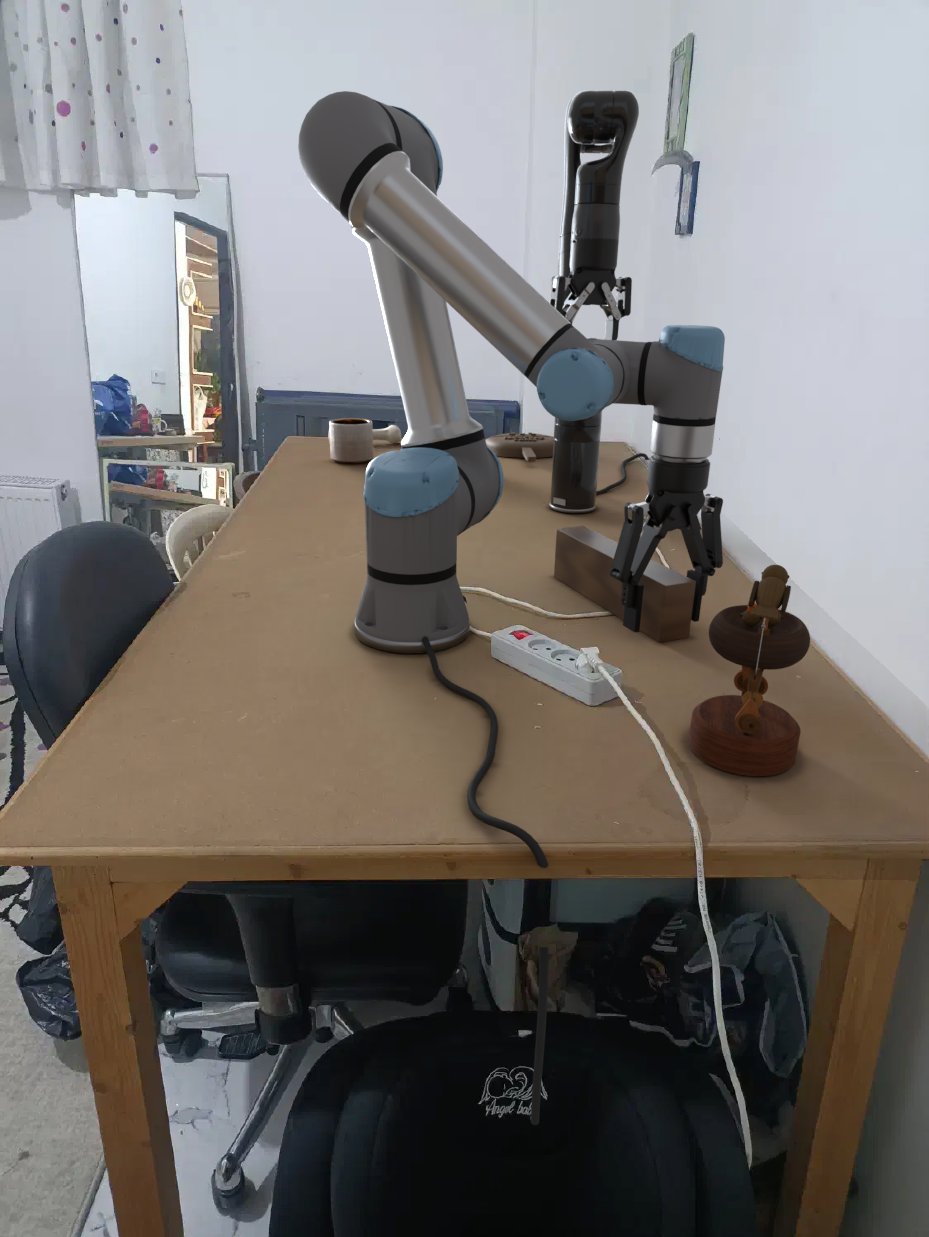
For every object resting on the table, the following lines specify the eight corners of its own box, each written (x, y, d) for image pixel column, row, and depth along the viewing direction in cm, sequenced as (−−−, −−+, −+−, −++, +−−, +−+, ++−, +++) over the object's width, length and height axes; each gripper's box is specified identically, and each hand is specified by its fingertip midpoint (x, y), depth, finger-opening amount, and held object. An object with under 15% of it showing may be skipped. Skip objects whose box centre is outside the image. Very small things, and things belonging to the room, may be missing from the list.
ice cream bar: (489, 467, 208) (489, 450, 207) (482, 445, 234) (482, 430, 233) (574, 467, 209) (575, 450, 208) (557, 446, 235) (558, 430, 234)
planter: (327, 456, 217) (325, 418, 214) (369, 454, 220) (368, 417, 217) (334, 465, 208) (332, 425, 204) (377, 463, 211) (376, 424, 207)
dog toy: (400, 440, 239) (399, 422, 237) (402, 444, 234) (401, 426, 232) (328, 441, 236) (327, 423, 234) (328, 445, 231) (327, 427, 229)
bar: (689, 637, 113) (696, 581, 110) (659, 643, 111) (665, 585, 108) (579, 573, 136) (583, 525, 133) (553, 577, 134) (556, 528, 131)
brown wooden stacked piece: (818, 789, 79) (839, 589, 72) (698, 789, 81) (706, 593, 73) (780, 711, 93) (794, 537, 86) (678, 712, 95) (683, 541, 87)
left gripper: (728, 445, 113) (707, 602, 121) (589, 456, 104) (577, 624, 113) (768, 456, 106) (743, 621, 115) (623, 469, 98) (608, 646, 107)
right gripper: (619, 239, 140) (611, 342, 146) (544, 236, 134) (539, 343, 140) (646, 237, 133) (636, 345, 139) (568, 234, 128) (561, 347, 134)
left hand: (661, 623), depth 114 cm, fingers open, 9 cm apart
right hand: (587, 344), depth 140 cm, fingers open, 8 cm apart
